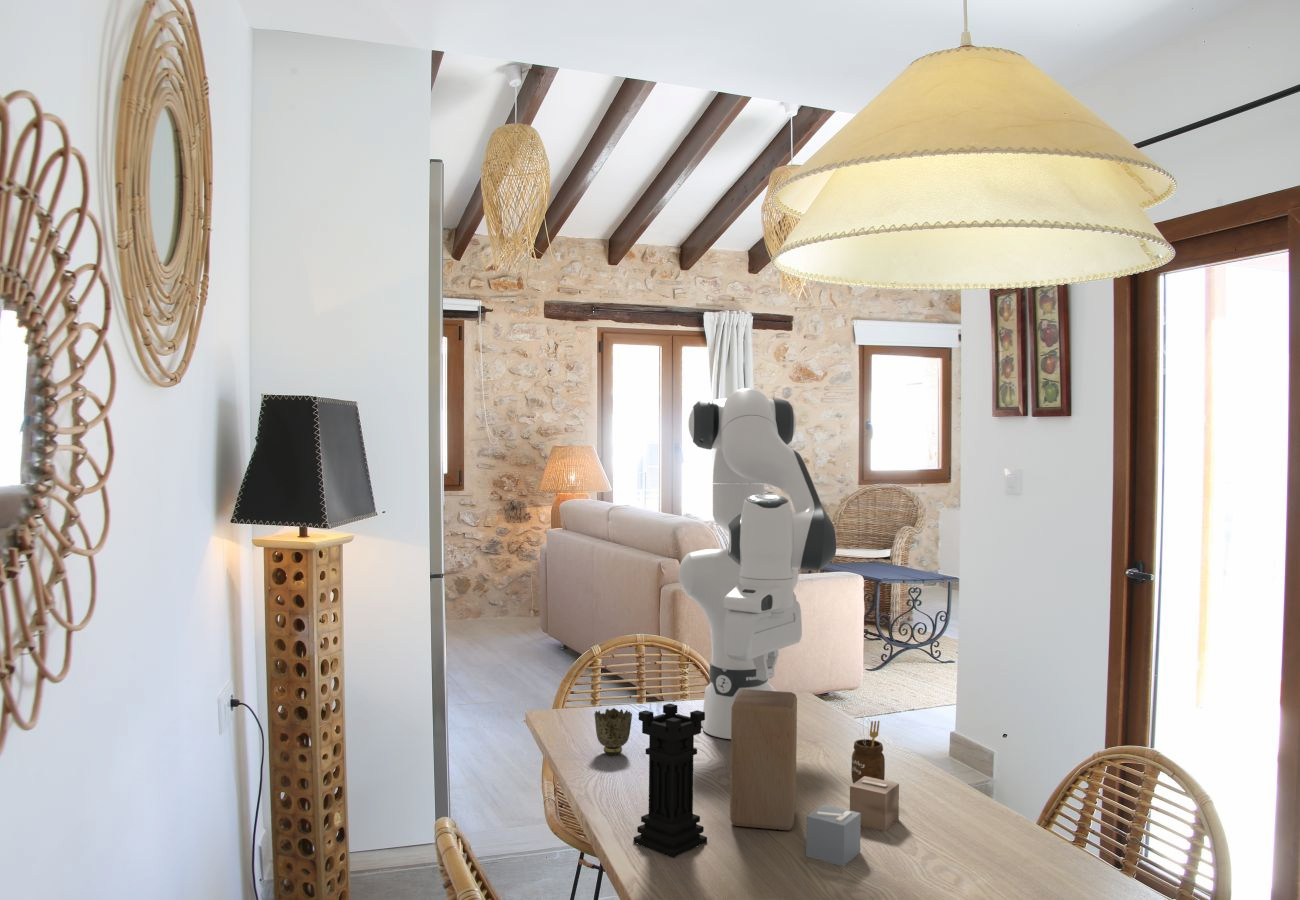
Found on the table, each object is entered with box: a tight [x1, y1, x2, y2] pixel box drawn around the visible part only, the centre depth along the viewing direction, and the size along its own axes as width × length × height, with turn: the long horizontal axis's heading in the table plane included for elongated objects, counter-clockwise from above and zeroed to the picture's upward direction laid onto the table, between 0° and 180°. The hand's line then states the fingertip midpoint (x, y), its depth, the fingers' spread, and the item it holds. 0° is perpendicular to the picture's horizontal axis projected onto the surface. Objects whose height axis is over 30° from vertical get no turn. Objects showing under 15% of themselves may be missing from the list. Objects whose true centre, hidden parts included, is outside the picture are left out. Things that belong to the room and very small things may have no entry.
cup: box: [593, 707, 633, 756], centre depth 192 cm, size 8×7×8 cm
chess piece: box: [633, 703, 708, 859], centre depth 149 cm, size 8×8×20 cm
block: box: [729, 689, 798, 831], centre depth 159 cm, size 10×10×20 cm
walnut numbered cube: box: [849, 776, 900, 832], centre depth 159 cm, size 6×6×6 cm
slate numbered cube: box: [805, 804, 861, 867], centre depth 145 cm, size 6×6×6 cm
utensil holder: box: [850, 717, 886, 783], centre depth 177 cm, size 6×6×12 cm
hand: (765, 678), depth 159 cm, fingers closed
